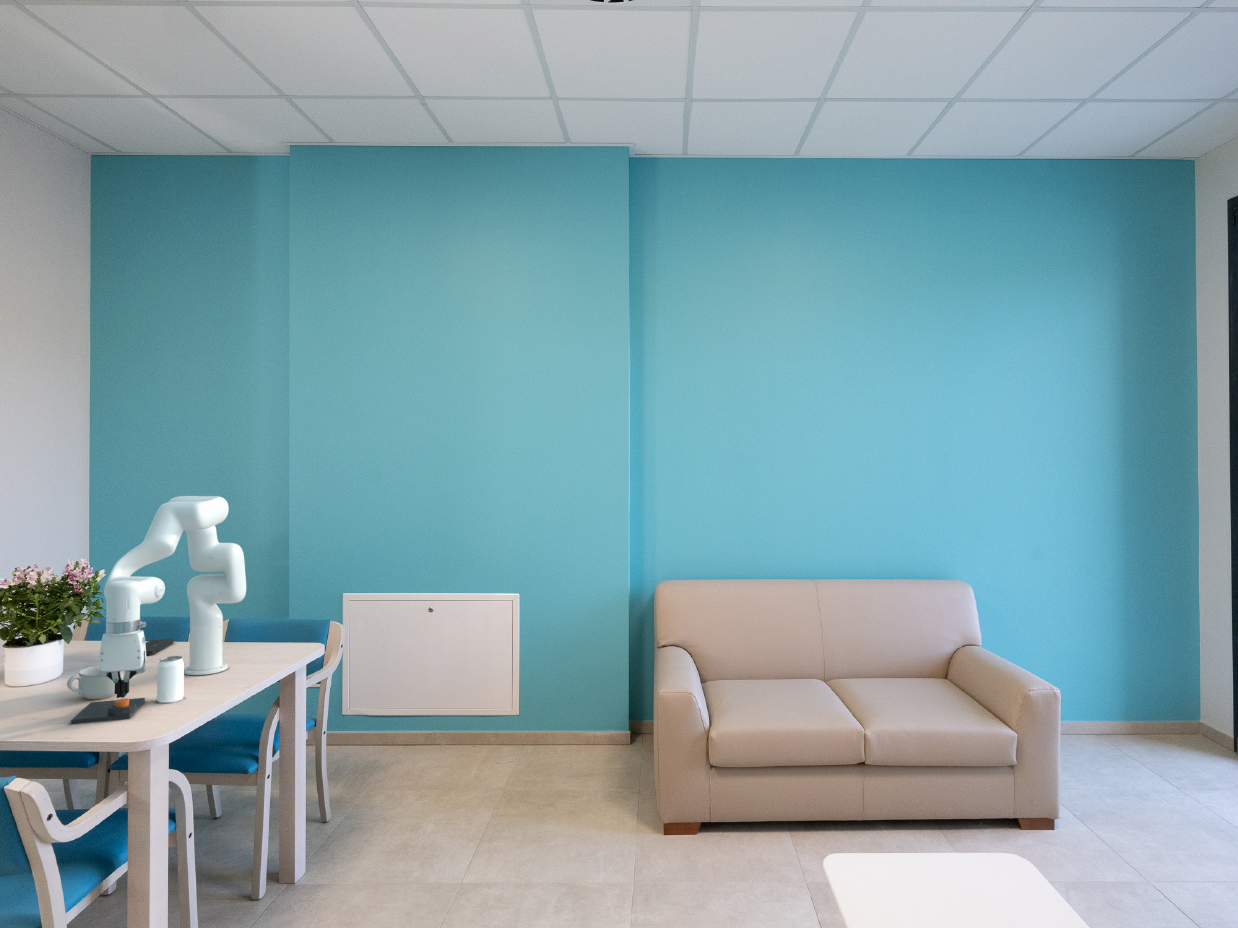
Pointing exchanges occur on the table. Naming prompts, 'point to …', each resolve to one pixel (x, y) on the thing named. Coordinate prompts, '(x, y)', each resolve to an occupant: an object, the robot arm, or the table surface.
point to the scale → (107, 711)
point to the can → (170, 679)
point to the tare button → (121, 703)
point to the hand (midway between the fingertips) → (121, 696)
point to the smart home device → (157, 645)
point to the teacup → (93, 684)
